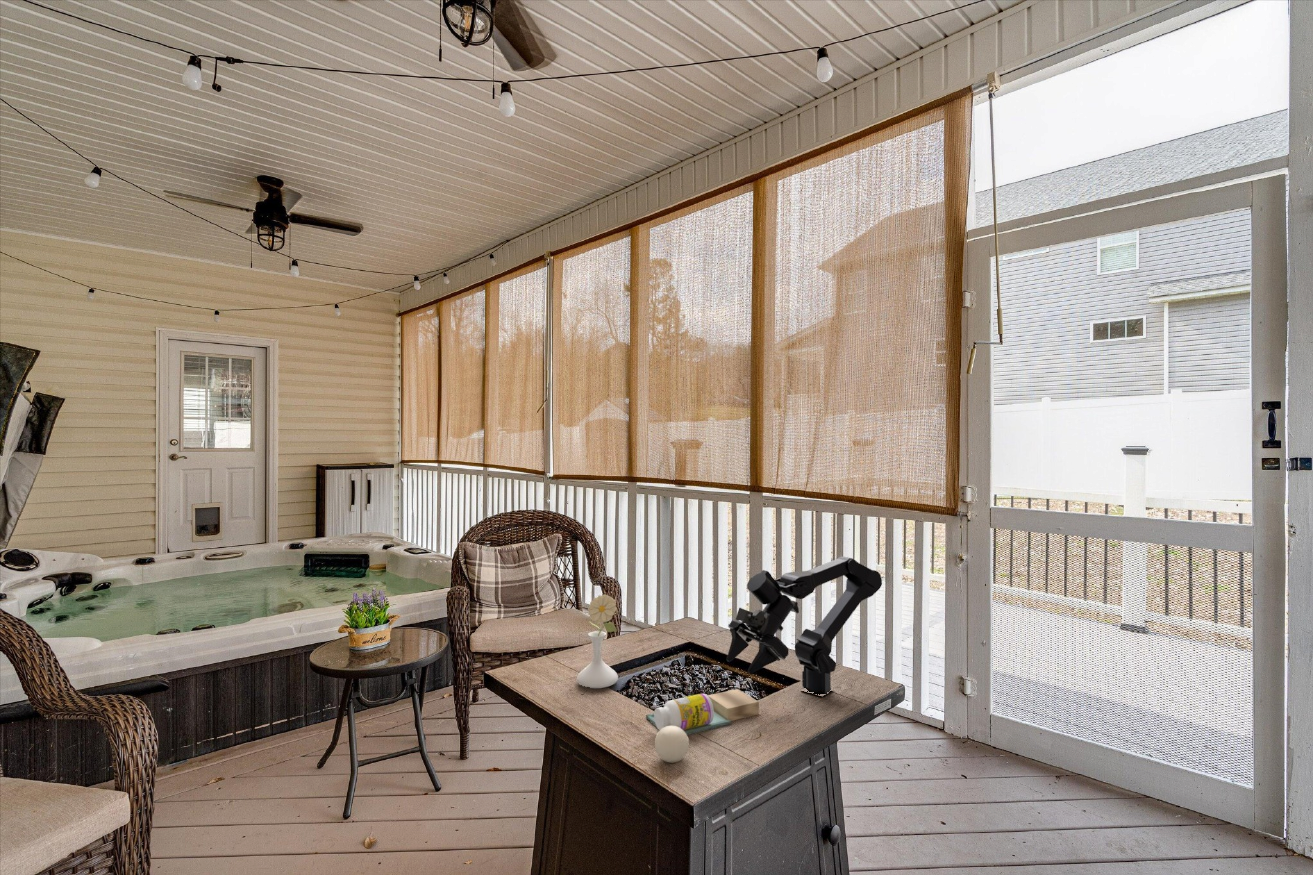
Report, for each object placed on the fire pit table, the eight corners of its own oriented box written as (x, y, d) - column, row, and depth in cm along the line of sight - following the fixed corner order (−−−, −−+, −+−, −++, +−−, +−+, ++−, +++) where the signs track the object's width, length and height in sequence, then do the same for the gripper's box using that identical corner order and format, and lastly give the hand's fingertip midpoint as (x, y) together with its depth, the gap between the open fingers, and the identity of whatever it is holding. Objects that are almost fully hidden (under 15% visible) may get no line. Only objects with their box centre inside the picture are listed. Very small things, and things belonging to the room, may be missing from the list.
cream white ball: (696, 759, 127) (696, 726, 127) (672, 772, 122) (671, 738, 122) (673, 748, 132) (672, 716, 132) (648, 760, 127) (648, 727, 127)
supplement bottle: (714, 728, 140) (664, 741, 135) (700, 715, 146) (651, 726, 141) (715, 700, 140) (665, 711, 134) (700, 687, 146) (652, 698, 140)
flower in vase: (567, 685, 168) (567, 593, 168) (597, 673, 176) (597, 586, 177) (601, 697, 159) (600, 600, 160) (631, 684, 168) (630, 592, 169)
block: (737, 700, 157) (737, 688, 157) (758, 714, 149) (758, 701, 149) (707, 707, 153) (707, 695, 153) (727, 721, 144) (727, 708, 145)
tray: (703, 705, 154) (703, 702, 154) (730, 724, 143) (730, 720, 143) (646, 718, 147) (646, 714, 147) (669, 738, 136) (669, 735, 136)
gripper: (733, 588, 163) (698, 636, 158) (777, 604, 146) (740, 658, 141) (758, 614, 166) (724, 662, 161) (804, 632, 149) (768, 686, 144)
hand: (738, 666), depth 152 cm, fingers open, 9 cm apart
